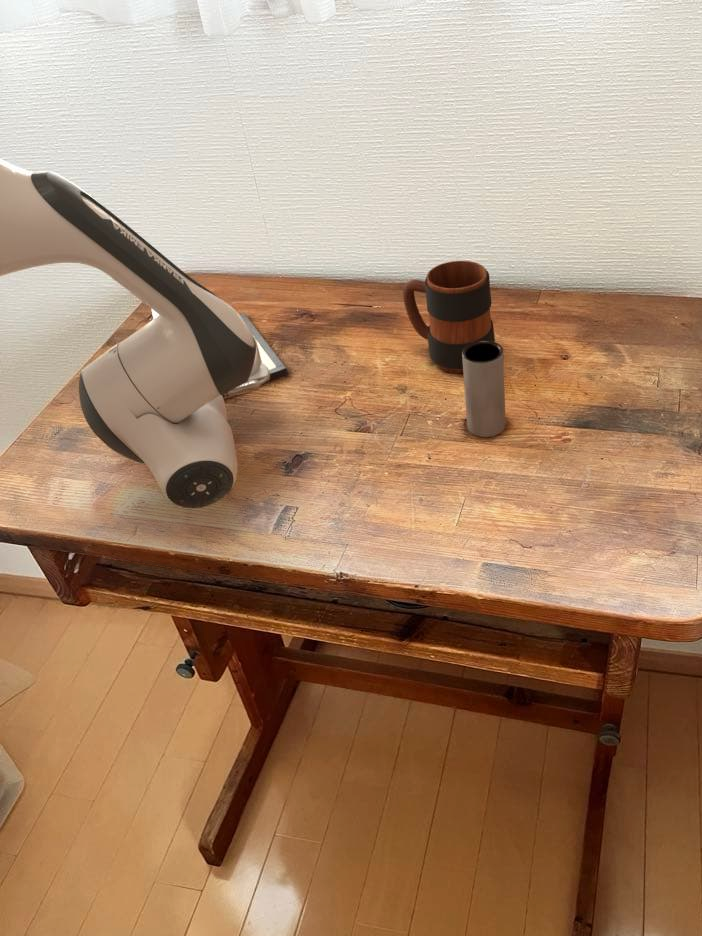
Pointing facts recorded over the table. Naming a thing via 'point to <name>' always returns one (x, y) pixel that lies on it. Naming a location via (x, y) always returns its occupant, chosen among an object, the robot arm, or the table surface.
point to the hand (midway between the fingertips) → (174, 346)
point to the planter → (484, 388)
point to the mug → (452, 310)
